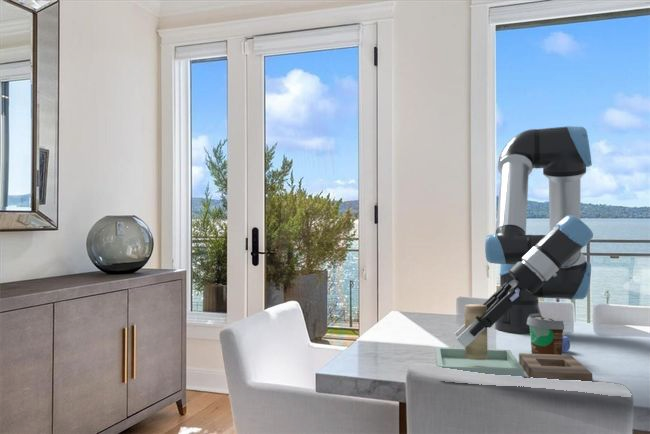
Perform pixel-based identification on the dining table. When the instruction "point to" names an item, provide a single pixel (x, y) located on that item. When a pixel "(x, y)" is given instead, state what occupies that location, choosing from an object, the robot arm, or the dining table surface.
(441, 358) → the tray
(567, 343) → the decorative dice
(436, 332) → the dining table surface
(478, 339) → the dowel
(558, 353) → the food container
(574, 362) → the dowel block
